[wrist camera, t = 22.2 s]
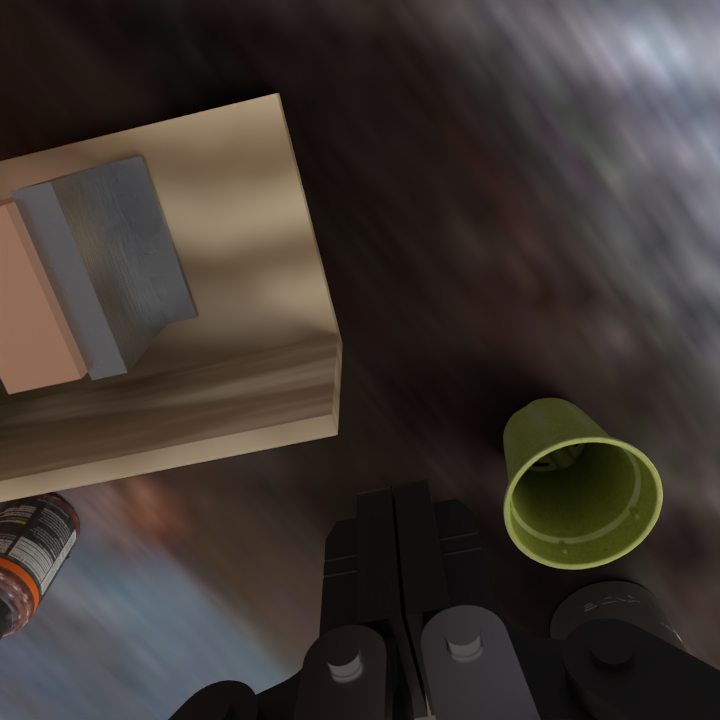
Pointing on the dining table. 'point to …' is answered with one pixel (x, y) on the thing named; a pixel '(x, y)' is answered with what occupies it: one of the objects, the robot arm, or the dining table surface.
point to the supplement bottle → (32, 554)
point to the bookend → (108, 260)
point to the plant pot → (575, 488)
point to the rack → (212, 325)
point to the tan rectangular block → (30, 315)
